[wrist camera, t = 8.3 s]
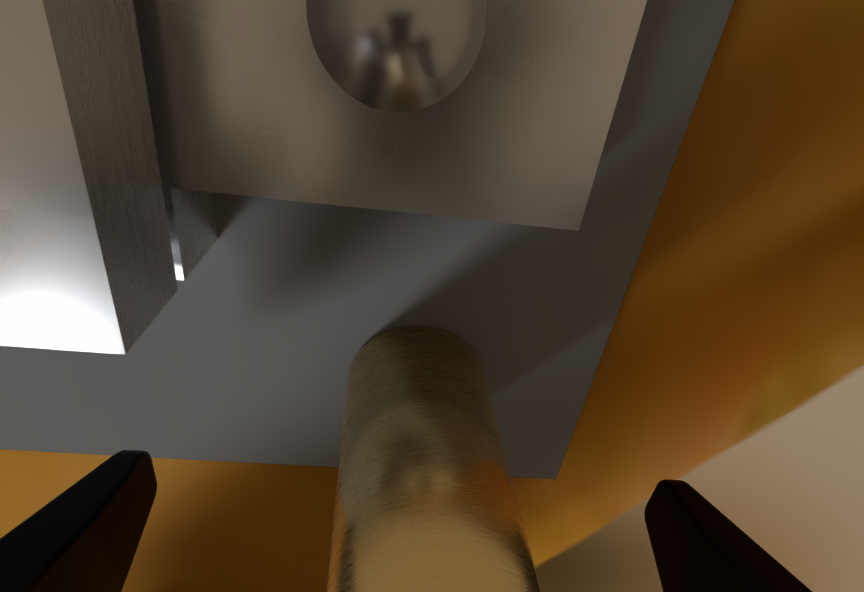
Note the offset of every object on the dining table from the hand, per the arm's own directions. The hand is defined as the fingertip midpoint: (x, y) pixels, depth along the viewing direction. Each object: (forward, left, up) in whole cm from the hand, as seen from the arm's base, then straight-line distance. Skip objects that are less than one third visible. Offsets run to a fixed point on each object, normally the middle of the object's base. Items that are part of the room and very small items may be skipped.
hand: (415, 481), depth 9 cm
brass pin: (0, 0, -3) cm, 3 cm away
